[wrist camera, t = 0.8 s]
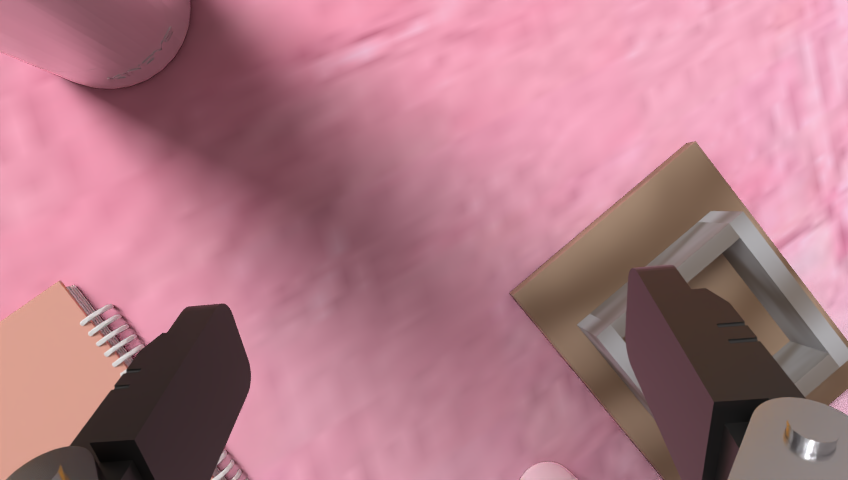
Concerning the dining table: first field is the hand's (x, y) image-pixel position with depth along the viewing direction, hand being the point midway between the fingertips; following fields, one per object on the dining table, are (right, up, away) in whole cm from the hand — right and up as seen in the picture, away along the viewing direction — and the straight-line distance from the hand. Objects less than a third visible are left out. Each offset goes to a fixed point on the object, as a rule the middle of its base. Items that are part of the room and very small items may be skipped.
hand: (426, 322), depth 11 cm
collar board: (+16, -4, +23) cm, 28 cm away
